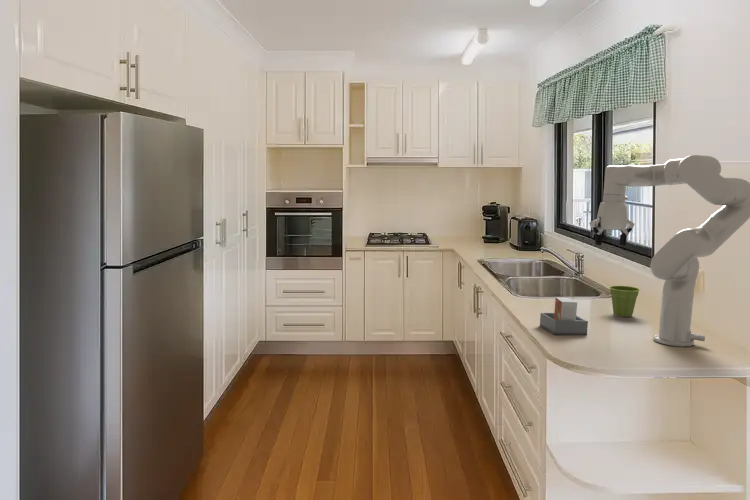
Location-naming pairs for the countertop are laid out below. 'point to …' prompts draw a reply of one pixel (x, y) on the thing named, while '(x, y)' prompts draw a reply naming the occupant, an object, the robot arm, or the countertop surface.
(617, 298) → the plant pot
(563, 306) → the small box
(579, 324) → the crate
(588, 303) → the countertop surface
